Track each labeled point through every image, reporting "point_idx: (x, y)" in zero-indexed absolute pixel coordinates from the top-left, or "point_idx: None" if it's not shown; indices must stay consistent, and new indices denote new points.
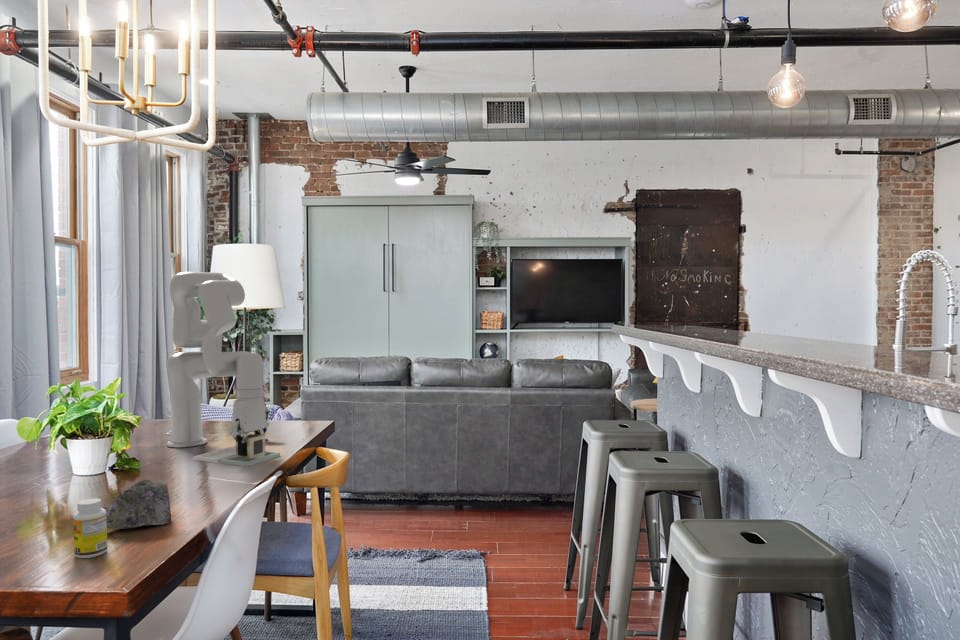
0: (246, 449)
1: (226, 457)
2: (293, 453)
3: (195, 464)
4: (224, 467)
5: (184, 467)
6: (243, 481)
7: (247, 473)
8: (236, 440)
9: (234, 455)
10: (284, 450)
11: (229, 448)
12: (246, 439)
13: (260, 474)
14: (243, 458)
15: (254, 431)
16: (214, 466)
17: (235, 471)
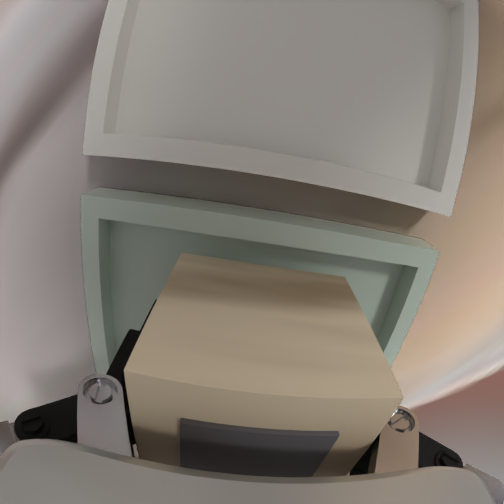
0: None
1: (171, 162)
2: (435, 397)
3: (72, 12)
4: (59, 254)
5: (11, 25)
6: (6, 414)
7: (54, 401)
8: (67, 403)
9: (268, 174)
10: (500, 325)
11: (463, 12)
12: (143, 459)
13: None
14: (269, 250)
15: (370, 471)
16: (54, 174)
17: (42, 350)
